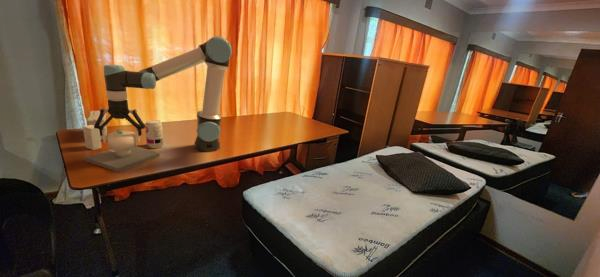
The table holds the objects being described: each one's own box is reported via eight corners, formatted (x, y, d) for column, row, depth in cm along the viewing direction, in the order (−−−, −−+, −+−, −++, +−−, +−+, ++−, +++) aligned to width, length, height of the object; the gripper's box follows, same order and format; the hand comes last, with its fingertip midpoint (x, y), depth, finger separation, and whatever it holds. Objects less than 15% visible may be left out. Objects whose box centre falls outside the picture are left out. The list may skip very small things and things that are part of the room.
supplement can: (146, 149, 135) (144, 123, 130) (147, 143, 141) (145, 119, 137) (162, 148, 138) (161, 123, 134) (163, 143, 145) (161, 119, 140)
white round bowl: (139, 146, 120) (138, 133, 118) (113, 151, 112) (111, 137, 109) (131, 140, 126) (129, 127, 124) (105, 144, 117) (103, 131, 115)
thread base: (159, 156, 128) (158, 144, 126) (118, 172, 108) (117, 159, 106) (128, 147, 134) (127, 136, 132) (84, 160, 114) (82, 147, 112)
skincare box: (102, 147, 129) (99, 126, 125) (93, 150, 125) (90, 128, 121) (94, 145, 131) (91, 124, 127) (85, 147, 127) (82, 126, 123)
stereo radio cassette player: (92, 130, 149) (87, 99, 143) (109, 130, 154) (105, 99, 147) (89, 142, 133) (83, 107, 127) (107, 141, 138) (103, 107, 132)
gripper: (149, 99, 120) (152, 138, 126) (87, 96, 110) (93, 139, 116) (147, 102, 113) (150, 144, 120) (80, 99, 103) (87, 144, 110)
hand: (122, 141), depth 118 cm, fingers open, 13 cm apart
